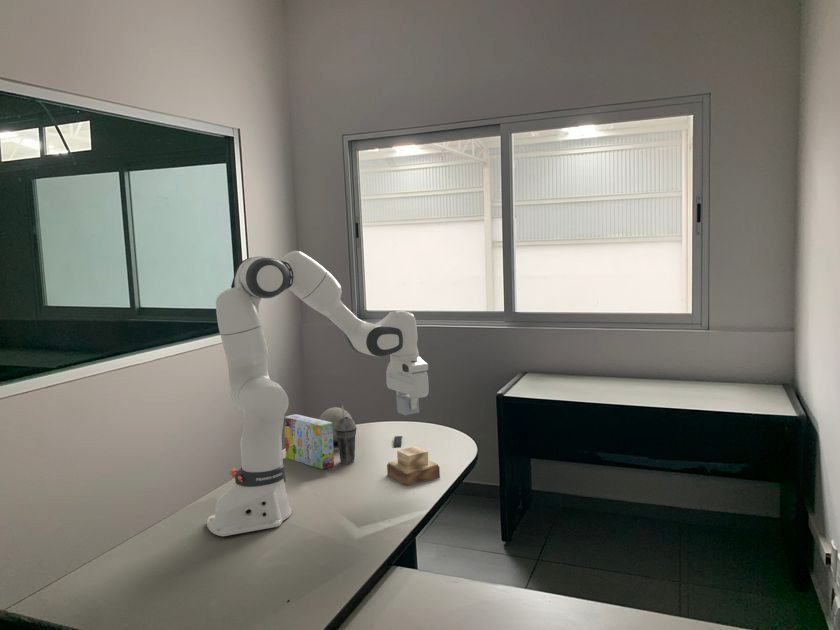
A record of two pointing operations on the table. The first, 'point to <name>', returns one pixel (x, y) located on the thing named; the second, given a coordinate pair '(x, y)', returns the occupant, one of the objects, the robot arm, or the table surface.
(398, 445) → the black long flat piece
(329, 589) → the table surface
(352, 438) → the beverage cup
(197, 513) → the table surface
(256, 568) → the table surface
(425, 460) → the oak block
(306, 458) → the snack box
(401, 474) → the plinth
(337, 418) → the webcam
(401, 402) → the grey cube
